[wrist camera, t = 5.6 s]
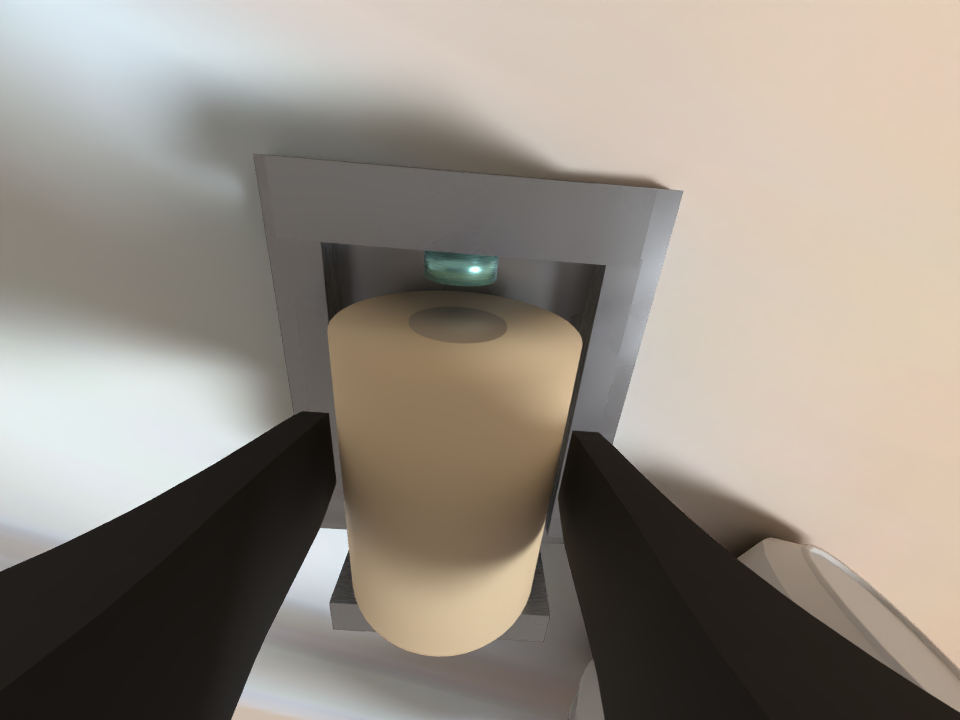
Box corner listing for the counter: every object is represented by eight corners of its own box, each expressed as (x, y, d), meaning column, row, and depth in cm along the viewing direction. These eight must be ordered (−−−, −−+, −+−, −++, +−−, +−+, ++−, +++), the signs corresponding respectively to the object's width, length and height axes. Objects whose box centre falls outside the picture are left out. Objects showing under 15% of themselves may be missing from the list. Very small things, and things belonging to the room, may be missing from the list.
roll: (476, 474, 14) (571, 594, 10) (334, 525, 12) (387, 707, 8) (495, 283, 11) (640, 351, 7) (306, 296, 8) (371, 410, 5)
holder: (672, 190, 10) (787, 197, 6) (580, 531, 15) (611, 647, 11) (266, 155, 9) (127, 139, 6) (318, 514, 14) (262, 626, 11)
